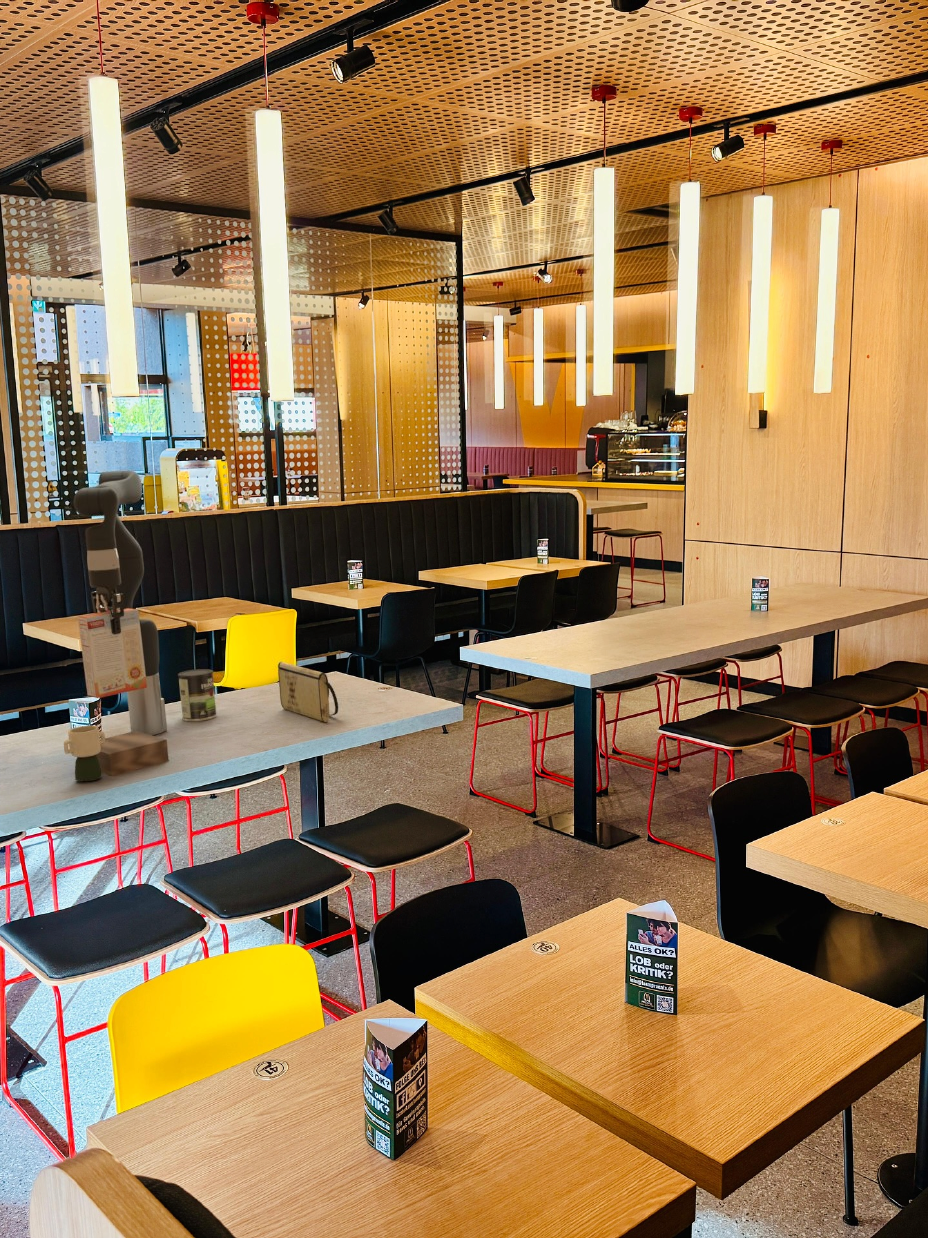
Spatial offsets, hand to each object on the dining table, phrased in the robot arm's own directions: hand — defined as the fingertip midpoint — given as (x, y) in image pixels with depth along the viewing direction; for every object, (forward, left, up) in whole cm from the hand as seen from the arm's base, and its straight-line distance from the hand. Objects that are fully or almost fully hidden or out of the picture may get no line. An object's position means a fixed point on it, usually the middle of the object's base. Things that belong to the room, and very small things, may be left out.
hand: (110, 632), depth 264 cm
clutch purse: (-61, -3, -35) cm, 70 cm away
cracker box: (0, 0, -16) cm, 16 cm away
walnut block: (0, 0, -35) cm, 35 cm away
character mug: (+13, +7, -35) cm, 38 cm away
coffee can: (-38, -29, -35) cm, 59 cm away
